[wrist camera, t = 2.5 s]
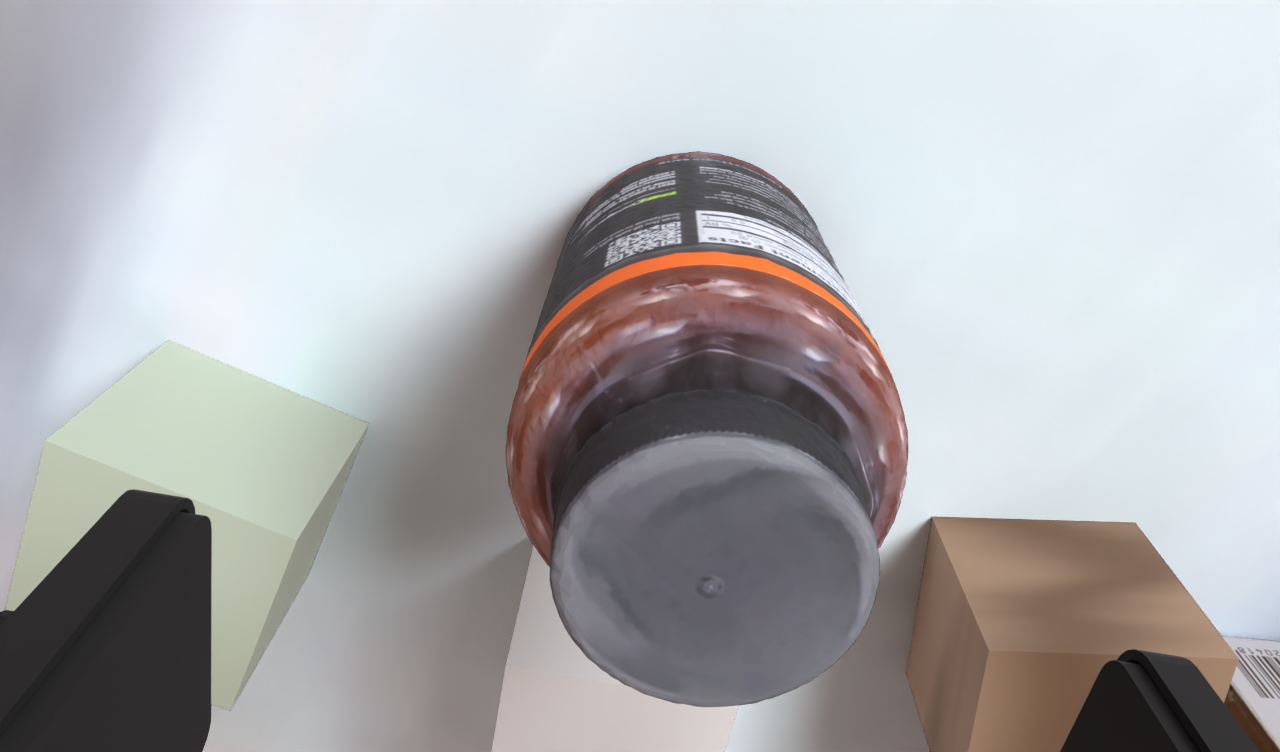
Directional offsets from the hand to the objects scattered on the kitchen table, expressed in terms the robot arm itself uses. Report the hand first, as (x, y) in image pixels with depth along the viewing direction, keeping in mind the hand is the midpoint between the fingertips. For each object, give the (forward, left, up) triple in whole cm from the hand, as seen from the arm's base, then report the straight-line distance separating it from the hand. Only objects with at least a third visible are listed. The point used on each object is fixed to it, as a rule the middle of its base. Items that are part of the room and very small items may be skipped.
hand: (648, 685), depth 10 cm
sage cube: (+9, +7, -13) cm, 17 cm away
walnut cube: (-11, +7, -13) cm, 18 cm away
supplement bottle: (-1, 0, -13) cm, 13 cm away
